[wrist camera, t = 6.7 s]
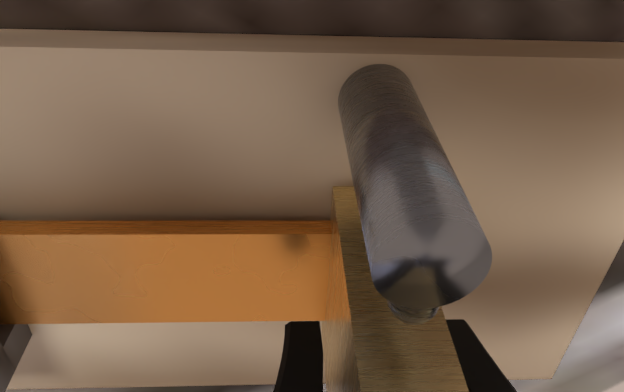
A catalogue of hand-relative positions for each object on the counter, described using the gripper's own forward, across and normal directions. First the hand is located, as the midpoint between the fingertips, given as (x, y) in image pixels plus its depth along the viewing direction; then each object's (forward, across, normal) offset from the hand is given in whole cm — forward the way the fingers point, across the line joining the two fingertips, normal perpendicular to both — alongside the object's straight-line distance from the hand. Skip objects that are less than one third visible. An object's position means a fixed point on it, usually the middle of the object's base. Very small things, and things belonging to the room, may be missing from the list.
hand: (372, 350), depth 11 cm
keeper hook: (+3, 0, -4) cm, 5 cm away
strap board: (+4, +3, 0) cm, 5 cm away
